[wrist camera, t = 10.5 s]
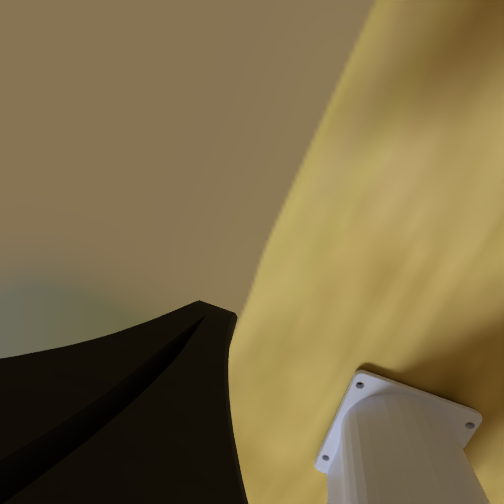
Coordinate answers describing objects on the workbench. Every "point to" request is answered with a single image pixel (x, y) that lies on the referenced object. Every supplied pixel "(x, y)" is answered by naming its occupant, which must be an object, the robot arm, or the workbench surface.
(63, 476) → the robot arm
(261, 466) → the workbench surface
